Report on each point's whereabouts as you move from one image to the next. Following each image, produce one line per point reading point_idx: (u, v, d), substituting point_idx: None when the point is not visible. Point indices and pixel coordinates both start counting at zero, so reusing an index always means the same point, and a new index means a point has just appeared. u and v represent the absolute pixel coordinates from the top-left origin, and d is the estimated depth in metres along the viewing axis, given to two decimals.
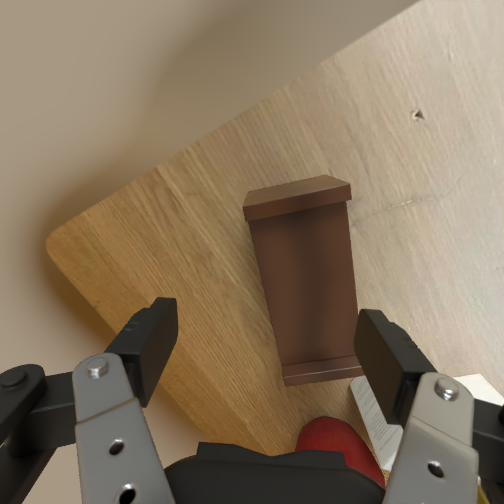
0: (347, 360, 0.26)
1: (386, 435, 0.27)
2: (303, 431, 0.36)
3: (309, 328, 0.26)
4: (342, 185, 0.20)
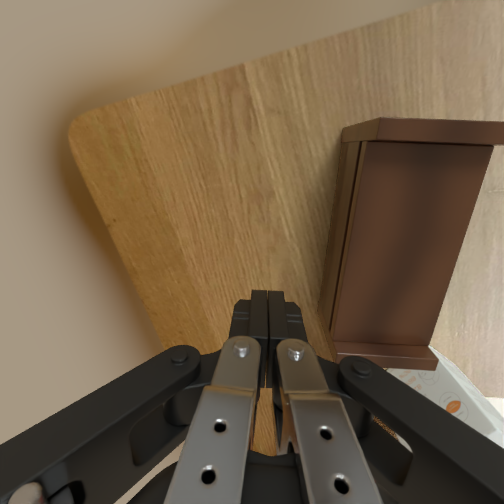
0: (412, 349, 0.22)
1: None
2: None
3: (382, 301, 0.21)
4: None
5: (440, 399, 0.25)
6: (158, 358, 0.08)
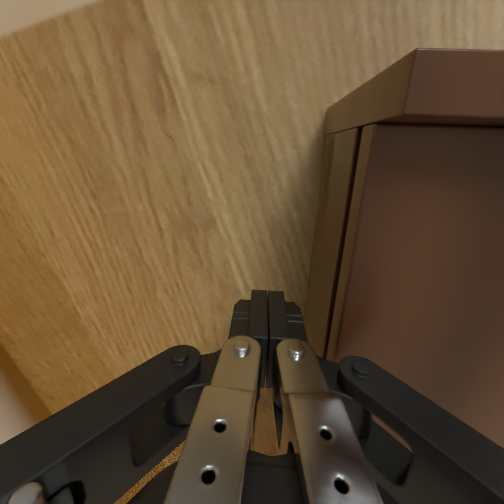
0: None
1: None
2: None
3: None
4: None
5: None
6: (158, 358, 0.08)
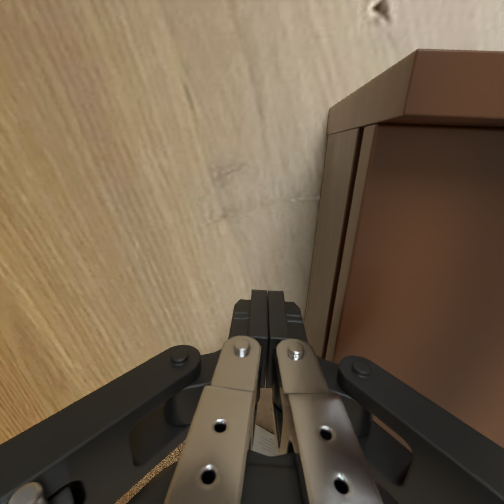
0: None
1: None
2: None
3: (402, 439, 0.11)
4: None
5: None
6: (158, 358, 0.08)
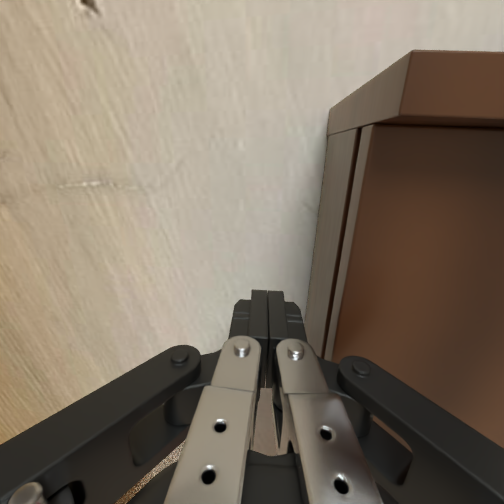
0: None
1: None
2: None
3: (402, 439, 0.11)
4: None
5: None
6: (158, 358, 0.08)
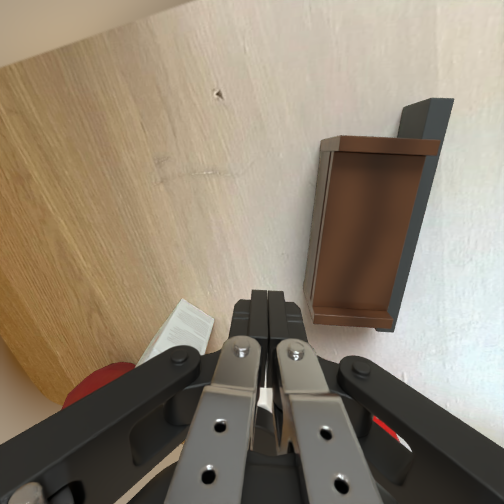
0: (374, 312, 0.29)
1: None
2: None
3: (350, 274, 0.28)
4: (433, 140, 0.22)
5: (156, 337, 0.32)
6: (158, 358, 0.08)
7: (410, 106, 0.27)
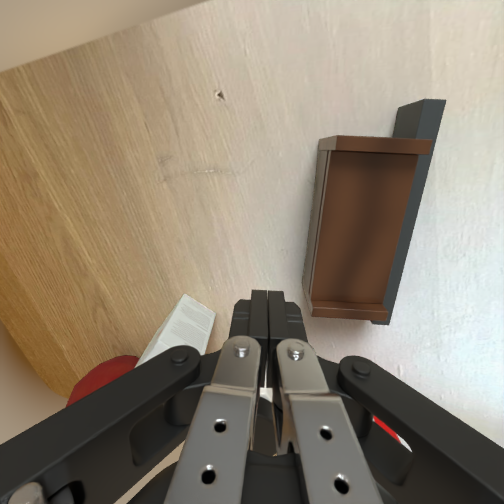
0: (369, 305, 0.30)
1: (140, 360, 0.31)
2: None
3: (347, 268, 0.29)
4: (425, 139, 0.23)
5: (160, 330, 0.33)
6: (158, 358, 0.08)
7: (405, 107, 0.28)
